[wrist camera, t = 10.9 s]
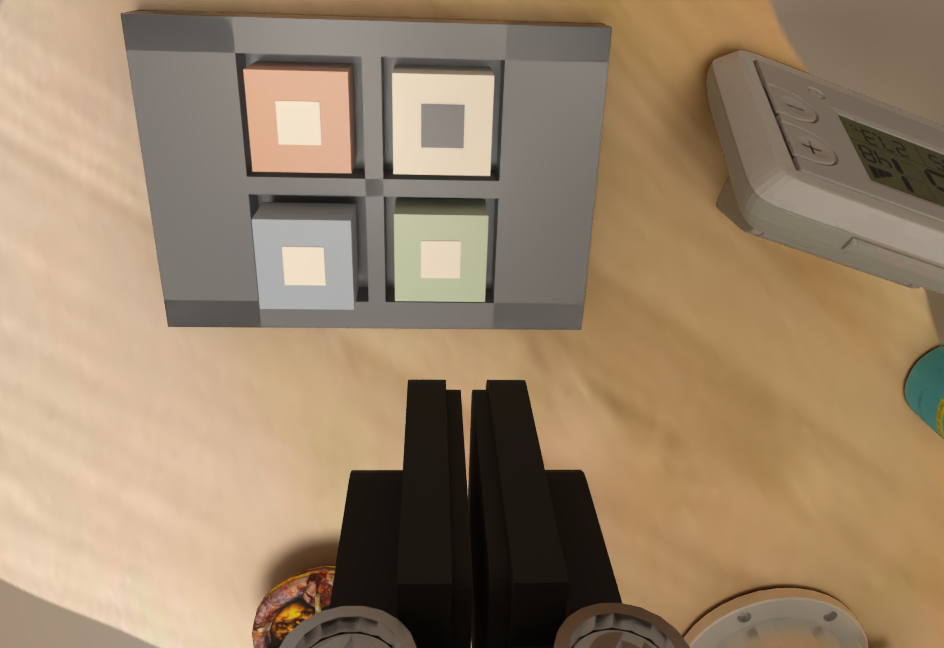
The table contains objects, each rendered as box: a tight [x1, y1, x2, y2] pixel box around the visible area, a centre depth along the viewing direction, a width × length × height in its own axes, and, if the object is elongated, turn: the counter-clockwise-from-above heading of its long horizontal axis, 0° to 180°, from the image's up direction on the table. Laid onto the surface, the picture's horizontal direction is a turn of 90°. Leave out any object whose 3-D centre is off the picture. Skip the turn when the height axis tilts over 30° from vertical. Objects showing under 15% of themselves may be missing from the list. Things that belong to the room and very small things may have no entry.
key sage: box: [394, 198, 489, 302], centre depth 37 cm, size 4×4×3 cm
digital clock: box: [706, 50, 944, 295], centre depth 33 cm, size 16×9×11 cm, turn 59°
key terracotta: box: [243, 61, 356, 173], centre depth 34 cm, size 4×4×3 cm
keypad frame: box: [121, 10, 612, 330], centre depth 36 cm, size 20×14×2 cm
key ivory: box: [392, 65, 494, 176], centre depth 34 cm, size 4×4×3 cm
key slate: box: [252, 202, 359, 310], centre depth 35 cm, size 4×4×3 cm
